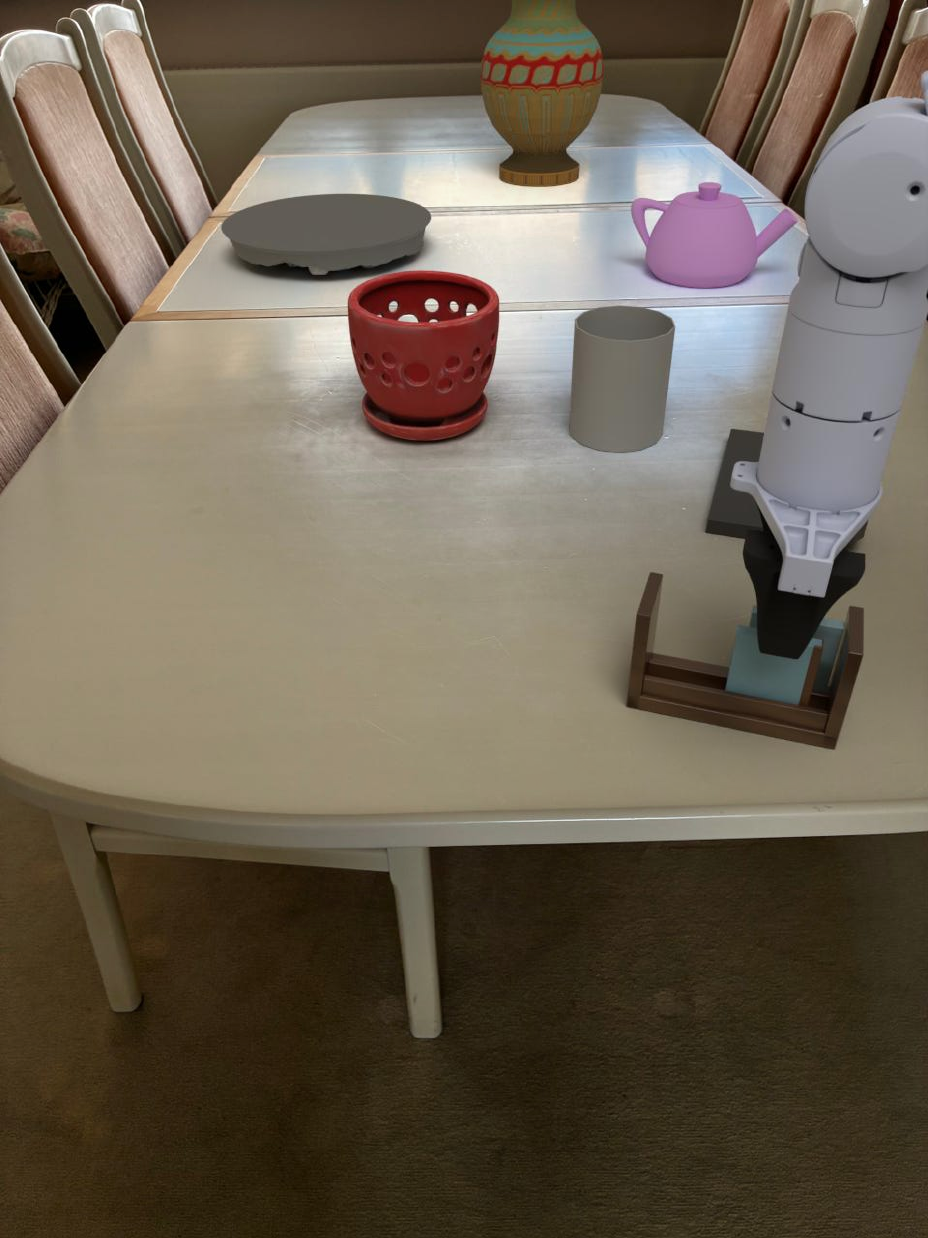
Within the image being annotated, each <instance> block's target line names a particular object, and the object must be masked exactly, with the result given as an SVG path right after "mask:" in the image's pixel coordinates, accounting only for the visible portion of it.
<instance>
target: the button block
mask: <svg viewBox="0 0 928 1238" xmlns="http://www.w3.org/2000/svg"><path fill="white" fill-rule="evenodd" d="M763 437H764V432H761V431H755V430H745V429H738V428H730V430H729V434H728V439H727V442H726V446H725V450H724V453H723V458H722V462H721V466H720V469H719V472H718V476H717V477H718V478H717V482H716V485H715V489H714V493H713V496H712V501H711V504H710V509H709V512H708V516H707V520H706V525H705V526H706V527H705V533H707V534H708V533H709V534H714V535H721V536H726V537H727V536H729V537H734V538H740V539H745V537H746V532H747V529H753V530H760V531H763V526H762V521H761V517H760V513H759V510H758V507H757V504H756V501H755V499H754V497H753V496H752V495H751V494H750V493H747V492H740V491H736V490H734V489H732V488H731V486H730V483H731V477H732V472H733V468H734V465H735V463H737V462H740V461H747V462H759V458H760V453H761V448H762V442H763ZM868 523H869V520H868V521H867V522H866V523H865V524H864V525H863V526H862V528H861V529H860V530H859V531H858V532H857V533H856V534H855V536H854V537H853V538H852V539H851V540H850V541H849V542H848V543H847V545H846V546H845V547H844V548H843V549H842V550H844V551H845V548H846V547H848V546H849V547H850V546H853V545H855V544H856V543H857V542H859V541H860V540H862V539H863V538H864V537H865V534H866V531H867V527H868Z"/></svg>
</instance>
